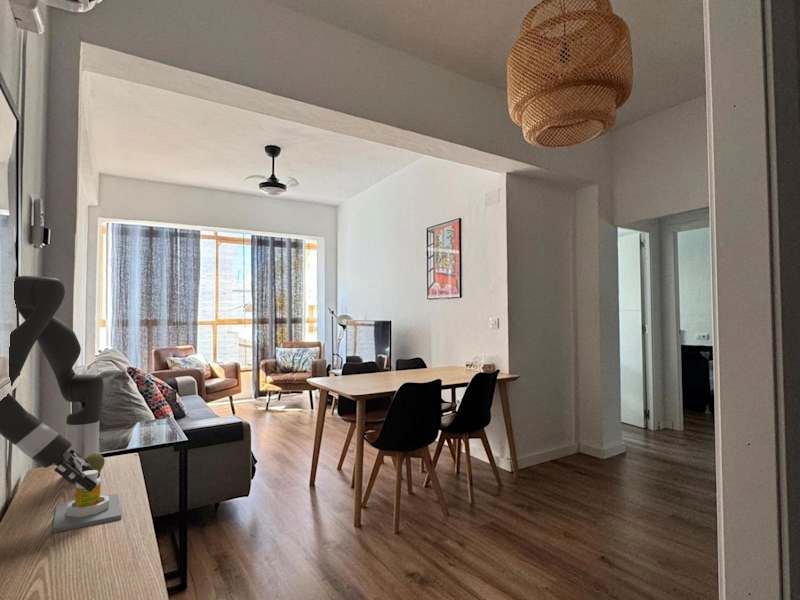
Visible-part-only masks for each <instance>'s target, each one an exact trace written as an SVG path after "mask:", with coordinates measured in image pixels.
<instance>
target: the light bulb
mask: <svg viewBox="0 0 800 600" xmlns="http://www.w3.org/2000/svg"><path fill="white" fill-rule="evenodd" d="M86 460H88V461H89V464H90V466H89V467H91V468H93V469H94V470H97V471H98V473H99V474H100V475H101V472H102V469H103V468H104V467H105V466H104V465H105V461H106V460H105V458H104V456H103V454H100V453H99V454H91V455H89V456H88V457H87V458H86Z"/></svg>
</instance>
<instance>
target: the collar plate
mask: <svg viewBox="0 0 800 600" xmlns="http://www.w3.org/2000/svg"><path fill="white" fill-rule="evenodd" d="M118 520H122V510H121V506H120V501H119V494H118V493H112V494H108V495H107V494H106V495H101V494H100V503H98V504H96V505H92V506H87V507H75V500H72V501H69V502H62V503H57V504H56V507H55V512H54V518H53V525H52V534H56V533H59V532H60V531H61V532H65V531H64V530H66V531H69V530H75V529H80V528H84V527H89V526H93V525H98V524H103V522H104V523H108V521H109V522H113V521H118ZM74 528H75V529H74Z"/></svg>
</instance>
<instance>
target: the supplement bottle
mask: <svg viewBox="0 0 800 600" xmlns="http://www.w3.org/2000/svg"><path fill="white" fill-rule="evenodd" d="M83 473H84V474H85V475H86V476H88V477H89V478H90V479H92V480H93V481H94V482H96V483H97V485H96V487H95V488H94V489H93V490H92V491H88V490H86V489H85V488H84V487H82V486H81V485H79V484H78V483H77V484H76V483H75V484H76V485H75V498H74V499H75V507H87V506H92V505H96V504H98V503H100V495H101V482H102V481H101V478H97V477H98V471H97V470H89V471H84V472H83Z"/></svg>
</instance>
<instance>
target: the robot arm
mask: <svg viewBox="0 0 800 600" xmlns="http://www.w3.org/2000/svg"><path fill="white" fill-rule="evenodd" d="M14 278H15V281H14V300H15V304H16V307H15V309H16V308H17V309H16V310H17V311H18V313H19V314H20V316H21V317H22V318H23V320H24V321H23V322H22V323H20V324H19V326H17V327H16V328H14V329H13V330H12V331H10V332H11V334H10V347H9V377H10V380H11V386H12V387H13V385H14V383H15V382H16V380H17V378H19V376H20V373H21V372H22V370H23V367H24V366H25V363H26V361H27V359H28V357H29V355H30V352H31V350H32V349H33V347H34V345H35V343H36V342H37V343H38V344H39V348H40V349H41V351H42V353H43V355H44V357H45V358H46V360H47V362H48V363H49V366H50V368H51V370H52V372H53V374H54V378H55V379H56V381H57V385H58V389H59V390H60V394H61V396H62V397H63V399H64V400H65V401H66V402H70V403H85V405H84V407H83V408H82V409H81V410H78V411H75V412H71V413H70V414H68V415H66V420H65V421H66V423H65V436H63V435H61V434H60V433H59V432H57V431H56V430H55V429H53V428H52V427H51V426H49V425H47V424H45V423H44V422H42V421H41V420H40V419H39V418H37V416H34V415H33V414H32V413H30V412H28V411H27V410H26V409H25V408H24V407H23V406H22V404H20V403H19V401H17V400H16V398H14V397H13V395H11V394H10V393H8V394H7V396H6V397H4V398H3V399H2V400H1V401H0V435H1V436H2V437H4V438H5V439H6V440H7V441H8V442H10V443H12V444H13V445H15V446H16V447H17V448H18V450H20V451H21V452H22V453H23V454H24V455H26V456H28V457H29V458H30V459H32V460H33V461H35V462H36V463H37V464H39V465H40V466H41V467H42V468H44V469H47V468H50V467H51V466H52V465H55V466H56V468H54V472H55V473H56V474H58V475H60V476H61V477H62V478H63V479H65V480H66V481H68V483H70V484H71V485H75V484H77V483H78V484H79V485H81V486H82V487H84V488H85V489H86V490H88V491H92V490H93V489H94V488H95V487H96V485H97V483H96V482H94V481H93V480H92V479H90V478H89V477H88V476H86V475H85V474H84V473H83V472H84V471H89V470H94V469H93V468H91V467H89V466H90V464H89V461H88V460H86V458H87V457H88V456H89V455H91V454H100V444H101V443H100V441H99V437H100V423H101V422H100V420H101V413H102V405H103V404H102V403H103V396H104V395H103V394H104V387H105V386H104V378H103V377H102V375H100V374H78V373H76V372H75V371H74V368H73V367H74V365H75V364H76V362H77V361H78V358H79V357H80V354H81V351H82V347H81V344H80V341H79V339H78V337H77V335H76V333H75V331H74V330H73V329H72V328H71V327H70V326H68V325H67V324H66V323H65V322H63V321H62V320H61V319H59V318H58V317H56V316H55V314H56V313H57V311H58V309H59V308H60V307H61V305H62V304H63V301H64V299H65V294H66V292H65V291H66V289H65V286H64V283H63V282H62V280H60V279H58V278H56V277H55V278H54V277H48V276H37V275H36V276H35V275H20V276H16V277H14ZM100 476H101V473H100V474H99V473H98V477H97V478H98V479H100Z"/></svg>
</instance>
